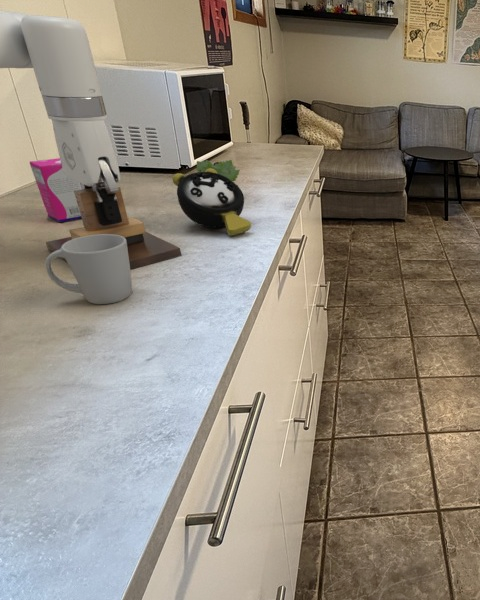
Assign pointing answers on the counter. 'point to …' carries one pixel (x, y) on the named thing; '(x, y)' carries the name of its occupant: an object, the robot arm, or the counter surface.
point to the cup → (96, 267)
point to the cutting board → (137, 250)
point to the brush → (92, 226)
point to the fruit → (219, 168)
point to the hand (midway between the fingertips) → (107, 220)
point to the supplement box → (56, 190)
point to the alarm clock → (211, 200)
